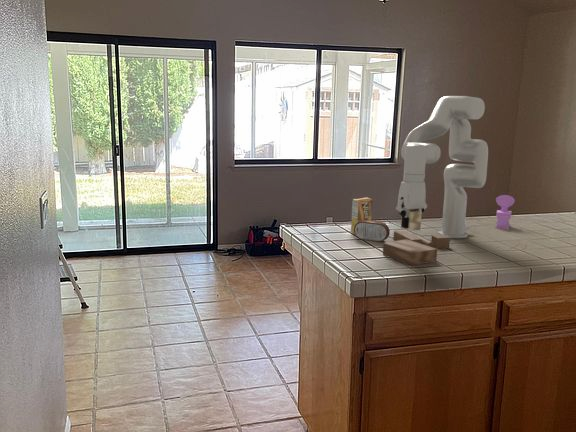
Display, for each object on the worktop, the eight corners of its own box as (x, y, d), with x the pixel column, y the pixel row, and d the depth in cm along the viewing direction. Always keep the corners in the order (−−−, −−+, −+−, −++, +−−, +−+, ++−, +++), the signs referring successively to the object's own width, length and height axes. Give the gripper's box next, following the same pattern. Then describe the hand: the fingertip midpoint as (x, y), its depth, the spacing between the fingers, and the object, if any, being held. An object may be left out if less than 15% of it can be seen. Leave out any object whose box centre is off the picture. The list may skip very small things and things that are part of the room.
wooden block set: (413, 238, 213) (393, 227, 230) (412, 251, 214) (392, 240, 231) (451, 235, 217) (429, 225, 234) (450, 249, 218) (428, 238, 235)
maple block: (410, 227, 204) (411, 208, 203) (420, 229, 200) (421, 211, 199) (400, 228, 202) (402, 209, 200) (410, 231, 198) (411, 212, 196)
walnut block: (406, 251, 214) (406, 239, 212) (436, 261, 200) (437, 248, 199) (382, 255, 207) (383, 242, 206) (412, 266, 194) (412, 253, 193)
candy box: (364, 230, 246) (365, 197, 243) (371, 232, 243) (372, 198, 240) (350, 233, 240) (351, 199, 237) (357, 234, 237) (359, 200, 234)
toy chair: (492, 227, 255) (495, 196, 252) (493, 224, 263) (496, 193, 260) (511, 229, 252) (515, 198, 249) (512, 225, 260) (515, 195, 257)
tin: (389, 241, 227) (390, 222, 225) (387, 243, 224) (388, 223, 222) (354, 237, 233) (355, 218, 231) (352, 239, 230) (353, 219, 228)
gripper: (423, 175, 205) (420, 222, 208) (389, 178, 196) (386, 227, 200) (438, 178, 198) (434, 226, 202) (403, 180, 190) (400, 231, 193)
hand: (410, 226), depth 201 cm, fingers closed on maple block, 5 cm apart
